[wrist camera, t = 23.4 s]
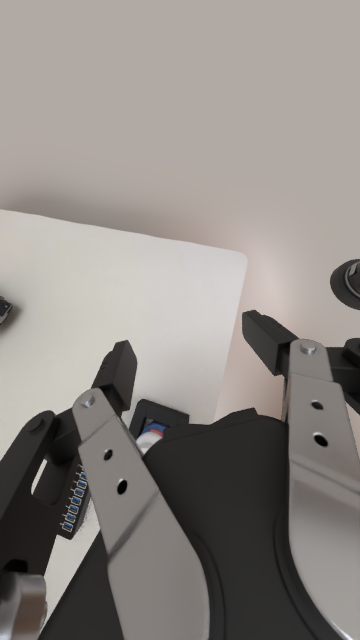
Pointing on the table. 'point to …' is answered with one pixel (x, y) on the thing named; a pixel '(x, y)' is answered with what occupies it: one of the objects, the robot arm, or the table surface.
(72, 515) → the multiport hub
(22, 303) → the table surface
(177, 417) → the holder pad
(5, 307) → the camera
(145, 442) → the pill bottle
